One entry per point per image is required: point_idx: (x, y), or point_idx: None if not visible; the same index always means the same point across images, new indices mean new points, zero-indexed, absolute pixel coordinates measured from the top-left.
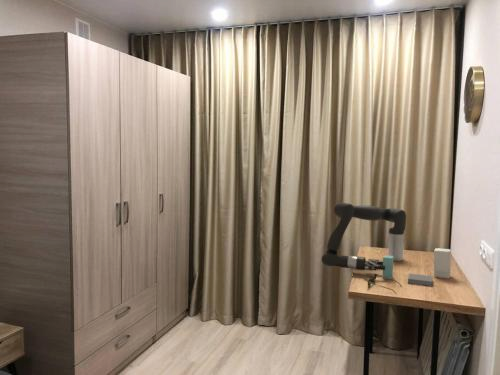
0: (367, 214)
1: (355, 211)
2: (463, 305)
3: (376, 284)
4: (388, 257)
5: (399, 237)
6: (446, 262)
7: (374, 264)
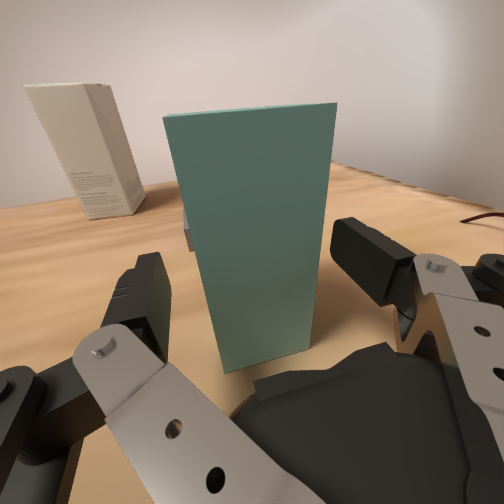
0: None
1: None
2: (339, 163)
3: None
4: (276, 106)
5: None
6: (124, 138)
7: (452, 300)
